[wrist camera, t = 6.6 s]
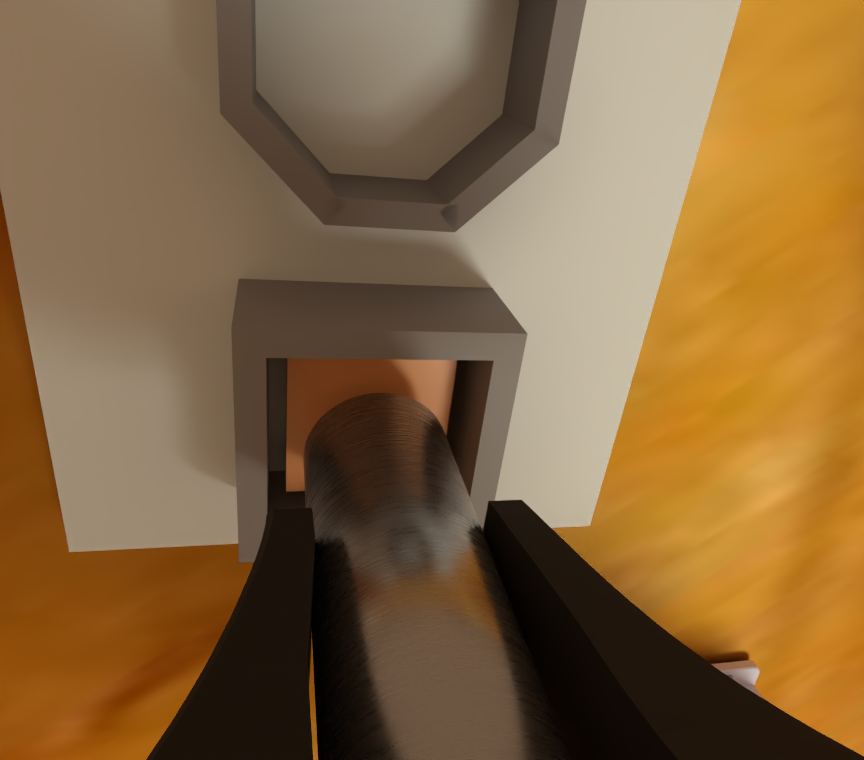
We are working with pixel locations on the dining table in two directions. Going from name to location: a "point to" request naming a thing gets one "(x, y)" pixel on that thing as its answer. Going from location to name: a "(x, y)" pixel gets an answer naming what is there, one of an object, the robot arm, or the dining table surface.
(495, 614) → the metal cylinder
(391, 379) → the button
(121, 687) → the dining table surface
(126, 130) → the panel
